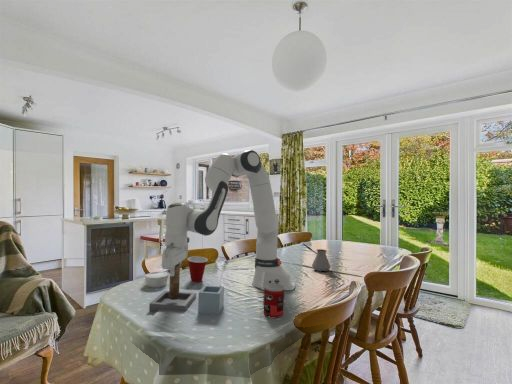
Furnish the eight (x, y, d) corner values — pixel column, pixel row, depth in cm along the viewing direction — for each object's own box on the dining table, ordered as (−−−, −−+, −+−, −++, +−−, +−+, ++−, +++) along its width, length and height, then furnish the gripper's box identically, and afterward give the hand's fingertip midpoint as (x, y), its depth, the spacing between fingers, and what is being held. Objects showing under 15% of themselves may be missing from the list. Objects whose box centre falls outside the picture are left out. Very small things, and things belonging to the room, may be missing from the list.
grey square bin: (223, 308, 117) (224, 286, 117) (219, 316, 109) (219, 293, 109) (203, 306, 118) (204, 285, 118) (197, 315, 110) (198, 292, 110)
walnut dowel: (180, 296, 121) (181, 263, 121) (176, 300, 117) (177, 266, 117) (171, 295, 121) (172, 263, 121) (167, 299, 117) (168, 265, 117)
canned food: (262, 309, 117) (263, 283, 117) (281, 309, 117) (282, 283, 117) (264, 318, 109) (265, 289, 109) (284, 318, 110) (285, 289, 110)
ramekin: (160, 279, 151) (160, 270, 151) (172, 284, 144) (172, 274, 144) (140, 284, 143) (140, 274, 143) (152, 290, 136) (152, 279, 135)
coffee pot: (333, 270, 179) (334, 247, 179) (323, 274, 171) (324, 249, 171) (306, 263, 195) (307, 242, 195) (296, 266, 187) (296, 244, 187)
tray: (196, 299, 126) (196, 292, 126) (184, 313, 111) (185, 305, 111) (164, 297, 127) (164, 290, 127) (149, 311, 112) (149, 303, 112)
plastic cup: (202, 284, 145) (203, 261, 145) (183, 282, 148) (183, 259, 148) (210, 278, 156) (210, 256, 156) (191, 276, 158) (192, 255, 158)
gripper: (173, 246, 108) (172, 282, 108) (190, 237, 129) (189, 267, 129) (158, 245, 109) (157, 281, 109) (177, 237, 129) (176, 267, 129)
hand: (175, 273), depth 119 cm, fingers closed on walnut dowel, 4 cm apart
